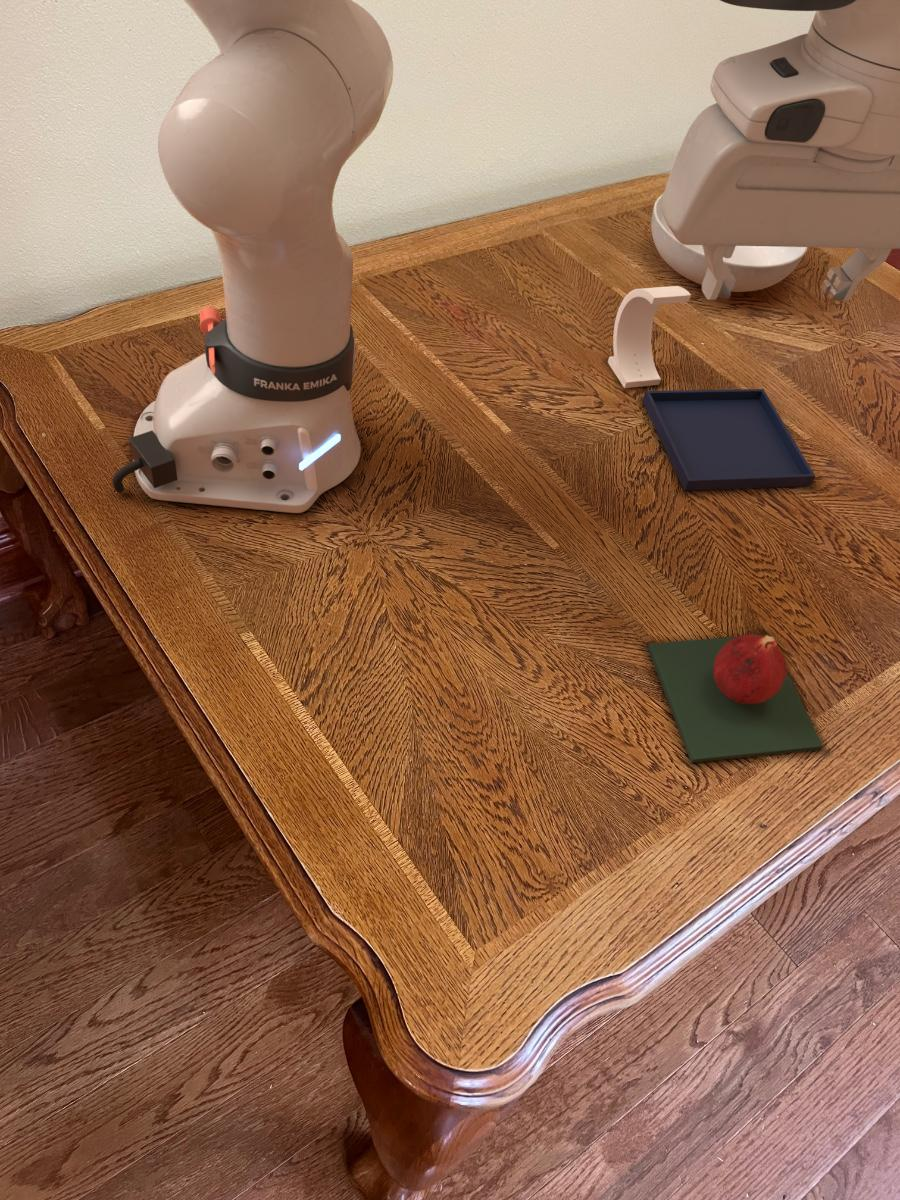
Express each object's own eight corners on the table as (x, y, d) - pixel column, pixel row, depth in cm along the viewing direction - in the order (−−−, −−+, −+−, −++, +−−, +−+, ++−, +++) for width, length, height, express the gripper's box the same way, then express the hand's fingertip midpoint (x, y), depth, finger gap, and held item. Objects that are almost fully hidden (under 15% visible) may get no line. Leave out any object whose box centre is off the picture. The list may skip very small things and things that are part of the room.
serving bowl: (807, 267, 133) (828, 221, 127) (758, 333, 120) (779, 285, 115) (674, 213, 138) (689, 167, 133) (614, 271, 126) (628, 222, 120)
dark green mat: (690, 763, 78) (693, 759, 77) (646, 647, 85) (648, 643, 85) (820, 749, 80) (823, 746, 80) (766, 637, 88) (769, 634, 87)
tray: (684, 491, 99) (688, 480, 98) (642, 401, 108) (645, 390, 107) (809, 486, 102) (815, 476, 101) (758, 398, 111) (763, 388, 110)
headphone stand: (624, 388, 109) (653, 298, 100) (604, 357, 113) (630, 266, 104) (659, 384, 111) (691, 295, 102) (638, 353, 114) (667, 264, 105)
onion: (735, 733, 80) (772, 679, 74) (687, 685, 82) (719, 629, 76) (779, 702, 82) (818, 648, 76) (731, 657, 85) (765, 601, 79)
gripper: (985, 79, 60) (883, 272, 71) (691, 61, 56) (629, 269, 67) (1040, 125, 57) (923, 322, 67) (729, 109, 52) (656, 322, 63)
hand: (774, 296), depth 67 cm, fingers open, 8 cm apart
